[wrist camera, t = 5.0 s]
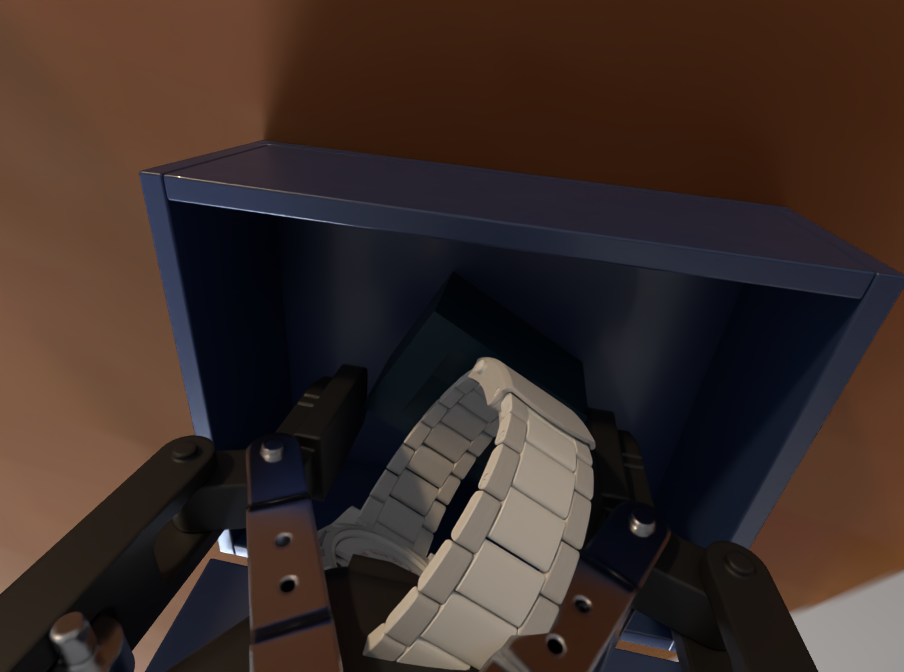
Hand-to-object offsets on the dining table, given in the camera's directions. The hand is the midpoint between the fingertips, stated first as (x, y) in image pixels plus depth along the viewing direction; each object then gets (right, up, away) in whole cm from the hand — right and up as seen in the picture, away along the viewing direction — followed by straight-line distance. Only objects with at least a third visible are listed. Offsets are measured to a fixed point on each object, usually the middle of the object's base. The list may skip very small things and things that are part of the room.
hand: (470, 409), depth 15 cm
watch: (+1, +1, +3) cm, 3 cm away
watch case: (+1, +2, +3) cm, 3 cm away
